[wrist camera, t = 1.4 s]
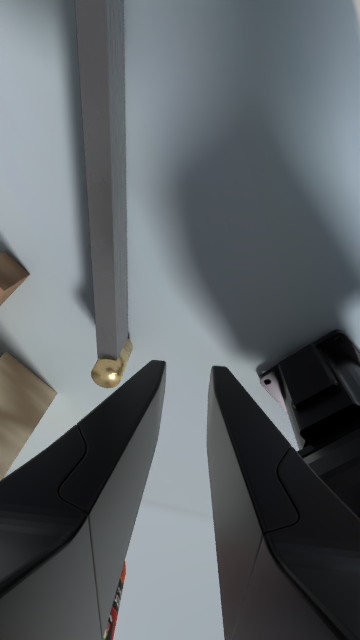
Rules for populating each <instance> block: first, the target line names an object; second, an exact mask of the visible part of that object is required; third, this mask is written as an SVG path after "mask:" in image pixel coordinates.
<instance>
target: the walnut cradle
mask: <svg viewBox="0 0 360 640" xmlns="http://www.w3.org/2000/svg"><path fill="white" fill-rule="evenodd" d="M29 275H30V274H29V273H28V272H27V271H26V270H25V269H24V268H23V267H21V266H20V265H19V264H18V263H17V262H16V261H15V260H14V259H13V258H12V257H11V256H10V255H8V254H7V253H6V252H3V253H1V254H0V305H1V304H2V303H3V302H4V301H5V300H6V299H7V298H8V297H9V296H10V295H11V294H12V293H13V292H14V291H15V290H16V288H17V287H18V286H19V285H20V284H21V283H22V282H23V281H24V280H25V279H26V278H27V277H28V276H29Z"/></svg>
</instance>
